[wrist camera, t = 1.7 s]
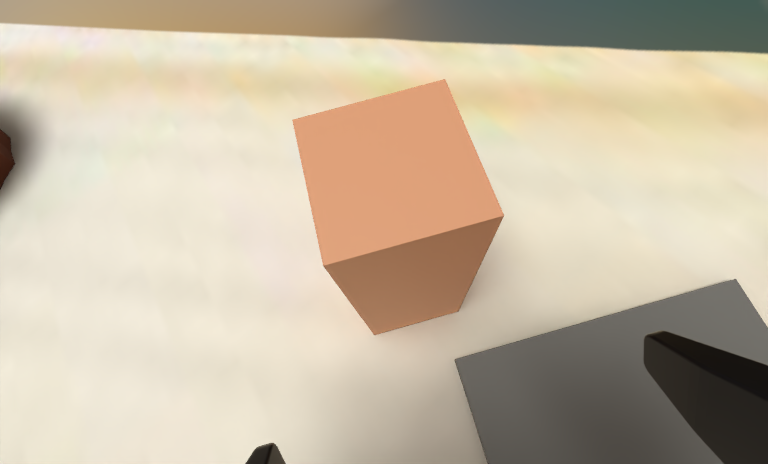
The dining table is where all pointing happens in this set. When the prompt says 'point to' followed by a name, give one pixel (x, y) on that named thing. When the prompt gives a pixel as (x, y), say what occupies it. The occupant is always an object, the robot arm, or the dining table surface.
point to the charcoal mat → (602, 385)
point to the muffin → (5, 157)
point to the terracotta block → (398, 203)
